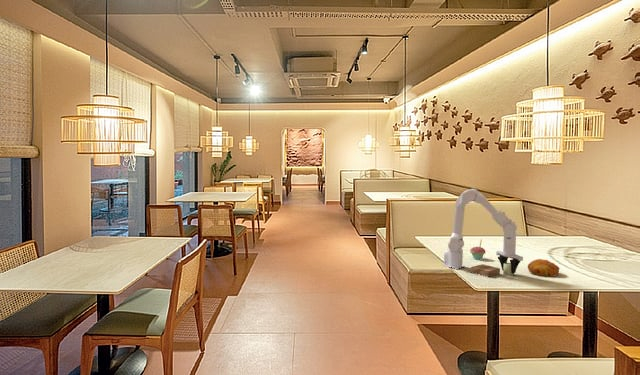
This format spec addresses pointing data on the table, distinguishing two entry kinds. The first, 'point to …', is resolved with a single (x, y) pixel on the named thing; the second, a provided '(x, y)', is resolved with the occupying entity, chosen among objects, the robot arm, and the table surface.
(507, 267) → the sage cylinder
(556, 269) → the croissant
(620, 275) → the table surface
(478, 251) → the cupcake
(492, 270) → the walnut base
